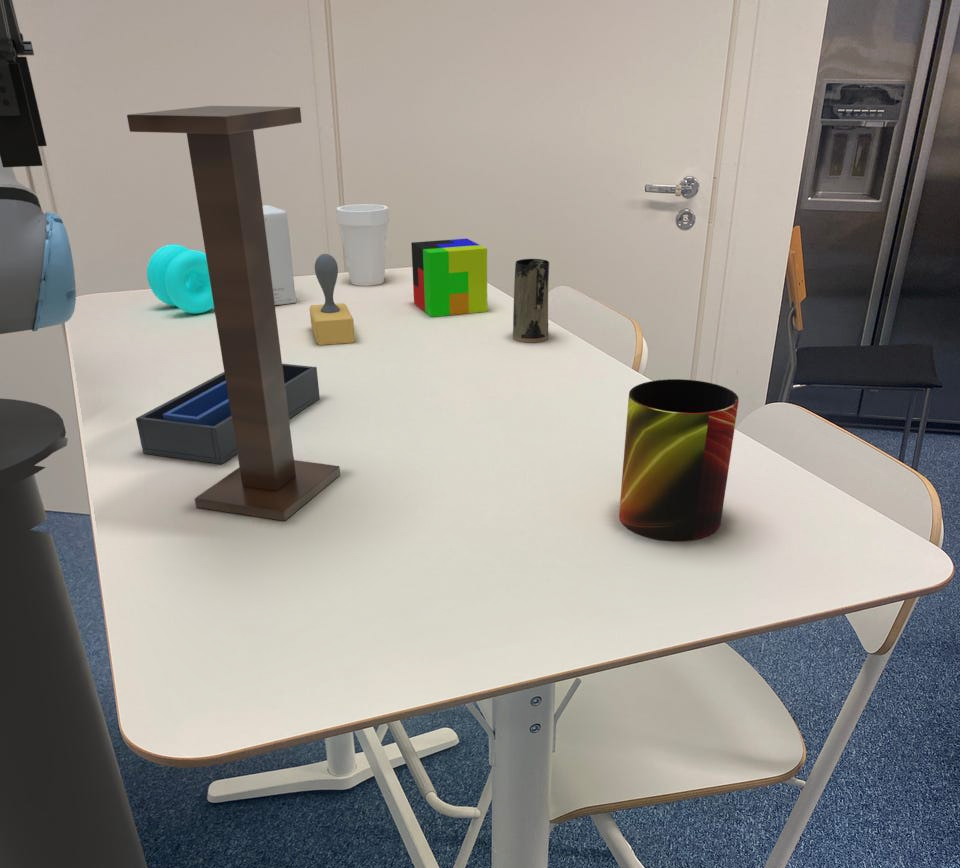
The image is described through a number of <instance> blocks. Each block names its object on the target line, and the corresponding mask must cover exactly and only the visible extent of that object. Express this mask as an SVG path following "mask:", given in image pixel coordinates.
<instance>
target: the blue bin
mask: <svg viewBox="0 0 960 868" xmlns="http://www.w3.org/2000/svg"><path fill="white" fill-rule="evenodd" d="M230 416H231V411H230V404H229V398H228V392H227V386H226V380H225V381H223V382H222V383H220V384H218V385H216V386H214V387H212V388H211V389H209V390H207V391H205V392H203V393H201V394H199V395H198V396H196V397H194V398H192V399H190V400H188V401H187V402H185V403H183V404H181V405H179V406H177V407H176V408H174V409H172V410H170V411H168V412H166V413H164V414H163V420H169V421H176V422H184V423H192V424H200V425H208V426H215V425H217V424H218V423H220V422H222V421H223V420H225V419H227V418H228V417H230Z"/></svg>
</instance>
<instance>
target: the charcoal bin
mask: <svg viewBox="0 0 960 868" xmlns="http://www.w3.org/2000/svg"><path fill="white" fill-rule="evenodd" d="M282 367H283V375H284V383H285V391H286V400H287V408H288V416H289V420H290V419H292V418H293V417H294V416H296V415H297V414H299V413H301V412H302V411H303V410H305V409H306V408H308V407H309V406H311V405H312V404H314V403H315V402H317V401H319V400H320V399H321V396H320V387H319V376H318V370H317V369H318V368H317V366H312V365H311V366H310V365H300V364H291V363H282ZM225 380H226V379H225V373H224V371H223V372H221V373H219V374H217V375H215V376H214V377H212V378H210V379H208V380H205V381H204V382H201V383H200V384H198V385H196V386H194V387H193V388H191V389H189V390H187V391H185V392H183V393H180V394H178V395H177V396H175V397H173V398H171V399H170V400H168V401H166V402H164V403H162V404H160V405H158V406H156V407H155V408H153V409H150V410H148V411H147V412H145V413H143V414H141V415H139V416H138V417H136V418H135V422H136V427H137V431H138V435H139V440H140V444H141V450H142V453H143V454H145V455H153V456H160V457H167V458H173V459H182V460H187V461H188V460H189V461H194V462H202V463H210V464H216V465H217V464H218V465H223V464H224V463H226V462H227V461H229V460H231V459H232V458H233V457H235V456H236V455H237V449H236V442H235V436H234V430H233V423H232V417H231V416H230V417H228V418H227V419H225V420H223V421H222V422H220V423H218V424H217V425H215V426H208V425H200V424H192V423H184V422H176V421H169V420H163V414H164V413H166V412H168V411H170V410H172V409H174V408H176V407H177V406H179V405H181V404H183V403H185V402H187V401H188V400H190V399H192V398H194V397H196V396H198V395H199V394H201V393H203V392H205V391H207V390H209V389H211V388H212V387H214V386H216V385H218V384H220V383H222V382H223V381H225Z"/></svg>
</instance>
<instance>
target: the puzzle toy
mask: <svg viewBox="0 0 960 868" xmlns="http://www.w3.org/2000/svg"><path fill="white" fill-rule="evenodd" d="M411 265H412V266H411V267H412V269H411V270H412V289H413V304H414V305H415V306H416V307H418V309H420V310H422V311H423V312H424V313H425V314H426V315H428V316H429V317H431V318H434V317H444V316H455V315H464V314H465V315H466V314H475V313H486V312H488V248H487V247H485V246H484V245H481V244H479V243H477V242H475V241H473V240H472V239H469V238H456V239H455V238H454V239H442V240H440V239H439V240H426V241H415V242H413V241H412V242H411Z"/></svg>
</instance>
